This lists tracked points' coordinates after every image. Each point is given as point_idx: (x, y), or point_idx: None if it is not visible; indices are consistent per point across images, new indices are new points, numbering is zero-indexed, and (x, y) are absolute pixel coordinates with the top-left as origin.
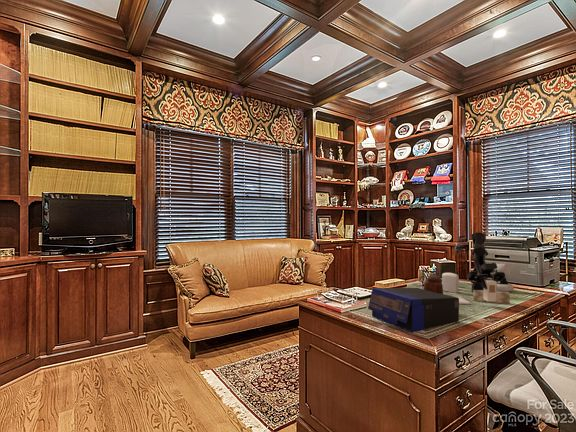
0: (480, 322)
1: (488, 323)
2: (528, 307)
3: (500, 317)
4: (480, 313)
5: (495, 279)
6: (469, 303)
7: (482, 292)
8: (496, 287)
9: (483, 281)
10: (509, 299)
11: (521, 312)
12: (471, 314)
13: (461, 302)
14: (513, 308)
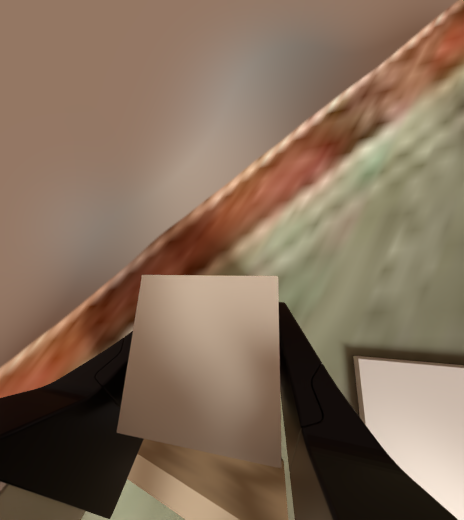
0: (424, 70)
1: (393, 68)
2: (91, 303)
3: (302, 147)
4: (369, 184)
5: (65, 391)
6: (364, 357)
7: (219, 490)
8: None
9: (311, 386)
10: None
11: (173, 226)
12: (427, 161)
13: (431, 364)
14: None
